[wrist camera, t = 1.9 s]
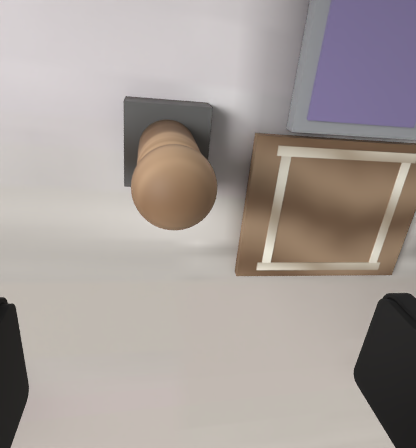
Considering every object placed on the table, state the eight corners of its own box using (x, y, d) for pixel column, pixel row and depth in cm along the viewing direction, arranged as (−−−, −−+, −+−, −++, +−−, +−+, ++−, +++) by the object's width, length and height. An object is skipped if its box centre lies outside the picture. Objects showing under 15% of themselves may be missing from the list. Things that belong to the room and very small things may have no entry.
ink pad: (317, -39, 24) (326, -44, 23) (459, -17, 26) (476, -20, 25) (286, 128, 29) (293, 132, 27) (409, 137, 31) (420, 141, 29)
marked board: (255, 133, 29) (258, 135, 28) (432, 144, 31) (440, 147, 31) (234, 271, 34) (236, 276, 33) (386, 270, 37) (392, 275, 36)
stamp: (125, 96, 26) (108, 135, 15) (207, 102, 27) (249, 143, 16) (126, 175, 29) (112, 259, 17) (200, 178, 30) (233, 259, 18)
